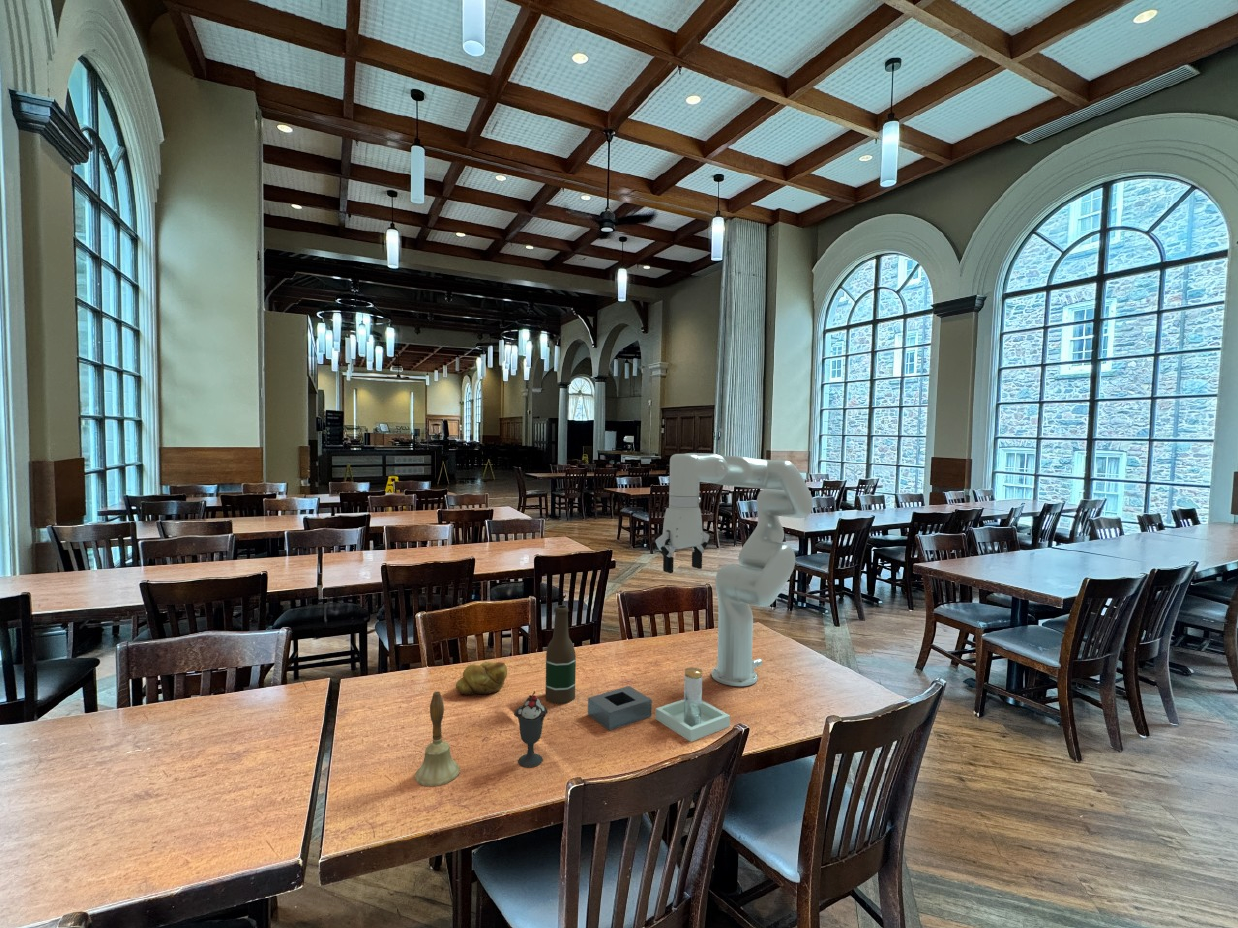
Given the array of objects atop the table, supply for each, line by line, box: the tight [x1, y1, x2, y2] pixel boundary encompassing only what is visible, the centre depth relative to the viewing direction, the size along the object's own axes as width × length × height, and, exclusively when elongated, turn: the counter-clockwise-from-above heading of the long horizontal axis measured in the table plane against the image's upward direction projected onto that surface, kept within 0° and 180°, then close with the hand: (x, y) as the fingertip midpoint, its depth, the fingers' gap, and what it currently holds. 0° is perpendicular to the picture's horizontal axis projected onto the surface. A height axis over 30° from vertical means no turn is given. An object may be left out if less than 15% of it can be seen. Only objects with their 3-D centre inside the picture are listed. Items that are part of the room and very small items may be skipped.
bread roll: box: [455, 661, 508, 696], centre depth 145 cm, size 13×10×8 cm
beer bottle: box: [545, 604, 577, 705], centre depth 139 cm, size 8×8×24 cm
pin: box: [683, 666, 703, 727], centre depth 127 cm, size 4×4×12 cm
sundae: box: [513, 690, 549, 768], centre depth 112 cm, size 7×7×15 cm
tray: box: [655, 698, 731, 743], centre depth 127 cm, size 12×12×4 cm
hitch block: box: [587, 685, 653, 732], centre depth 130 cm, size 12×9×5 cm
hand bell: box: [414, 691, 461, 787], centre depth 107 cm, size 8×8×16 cm
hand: (682, 569), depth 140 cm, fingers open, 9 cm apart
